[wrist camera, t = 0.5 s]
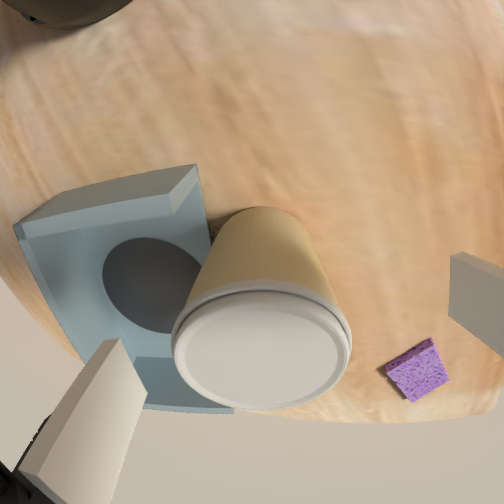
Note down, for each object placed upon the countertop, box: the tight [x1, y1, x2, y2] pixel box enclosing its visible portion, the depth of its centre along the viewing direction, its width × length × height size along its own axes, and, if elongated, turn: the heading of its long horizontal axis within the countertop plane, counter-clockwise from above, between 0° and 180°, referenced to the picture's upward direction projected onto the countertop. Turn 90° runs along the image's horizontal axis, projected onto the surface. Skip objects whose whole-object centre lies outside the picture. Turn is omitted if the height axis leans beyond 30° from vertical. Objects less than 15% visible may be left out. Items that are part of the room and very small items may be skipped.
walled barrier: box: [13, 164, 234, 414], centre depth 23 cm, size 21×13×7 cm, turn 7°
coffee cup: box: [171, 207, 352, 411], centre depth 19 cm, size 9×9×12 cm
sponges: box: [384, 337, 450, 403], centre depth 32 cm, size 7×13×2 cm, turn 41°
